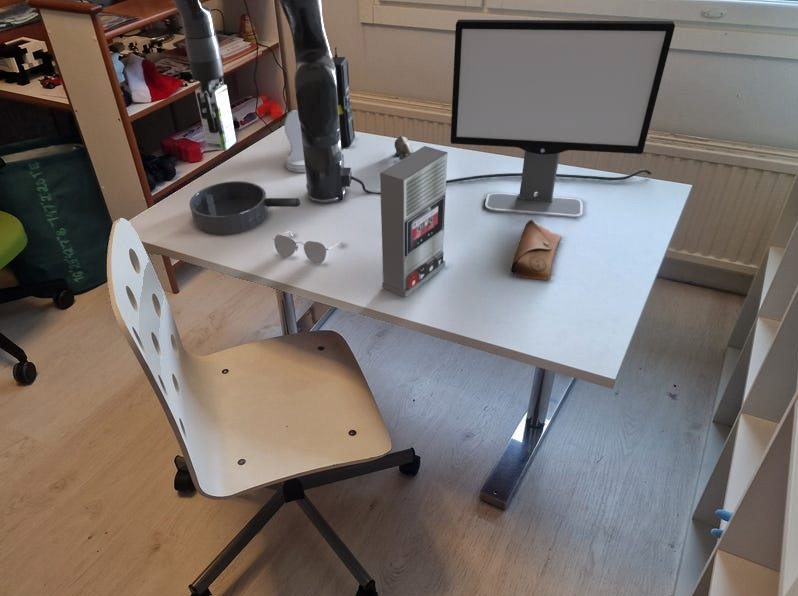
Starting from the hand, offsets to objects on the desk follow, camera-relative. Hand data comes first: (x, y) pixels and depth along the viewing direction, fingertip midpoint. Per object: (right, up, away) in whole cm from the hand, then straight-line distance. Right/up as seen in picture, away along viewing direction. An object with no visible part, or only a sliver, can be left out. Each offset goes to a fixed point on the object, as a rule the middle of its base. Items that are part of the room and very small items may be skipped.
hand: (218, 126), depth 158 cm
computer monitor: (+77, -22, -7) cm, 80 cm away
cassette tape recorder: (+46, -41, -27) cm, 68 cm away
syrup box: (0, -4, +3) cm, 5 cm away
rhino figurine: (+48, -5, +13) cm, 50 cm away
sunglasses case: (+73, -36, -24) cm, 85 cm away
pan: (+4, -23, -3) cm, 24 cm away
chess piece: (+20, -4, +17) cm, 27 cm away
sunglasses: (+24, -34, -17) cm, 45 cm away
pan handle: (+17, -21, -6) cm, 28 cm away
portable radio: (+31, +5, +26) cm, 41 cm away
